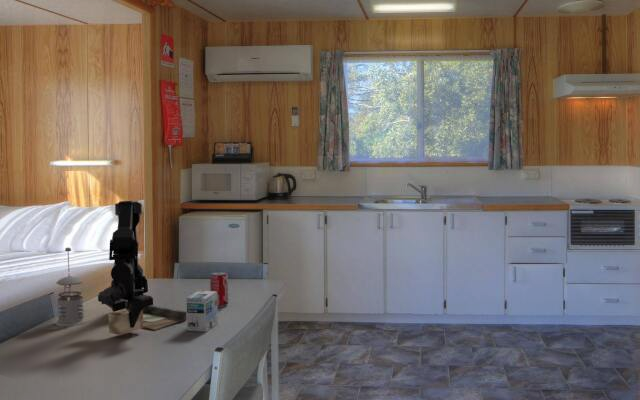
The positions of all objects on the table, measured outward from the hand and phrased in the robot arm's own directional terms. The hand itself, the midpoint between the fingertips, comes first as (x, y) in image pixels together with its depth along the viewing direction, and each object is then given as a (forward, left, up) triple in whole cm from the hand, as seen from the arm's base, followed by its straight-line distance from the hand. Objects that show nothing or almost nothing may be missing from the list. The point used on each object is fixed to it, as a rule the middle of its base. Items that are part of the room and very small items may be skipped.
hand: (126, 326), depth 209 cm
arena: (-5, +15, -3) cm, 16 cm away
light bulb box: (+14, +19, -3) cm, 24 cm away
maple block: (0, 0, -1) cm, 1 cm away
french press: (-28, +1, -3) cm, 28 cm away
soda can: (0, +43, -3) cm, 43 cm away
